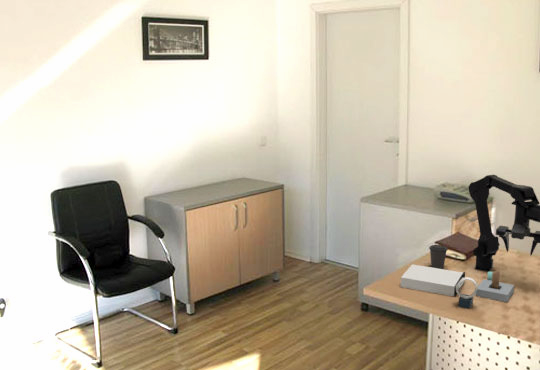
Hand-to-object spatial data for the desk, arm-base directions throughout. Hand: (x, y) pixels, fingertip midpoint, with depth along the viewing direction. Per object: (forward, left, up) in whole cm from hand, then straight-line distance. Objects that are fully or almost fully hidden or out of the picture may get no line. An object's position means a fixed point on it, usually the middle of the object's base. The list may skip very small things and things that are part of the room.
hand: (519, 253), depth 254 cm
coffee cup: (-34, +1, -13) cm, 36 cm away
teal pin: (-9, -7, -13) cm, 17 cm away
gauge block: (-5, -17, -13) cm, 22 cm away
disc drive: (-29, -20, -14) cm, 38 cm away
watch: (-12, -34, -13) cm, 38 cm away
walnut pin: (-5, -17, -13) cm, 22 cm away
